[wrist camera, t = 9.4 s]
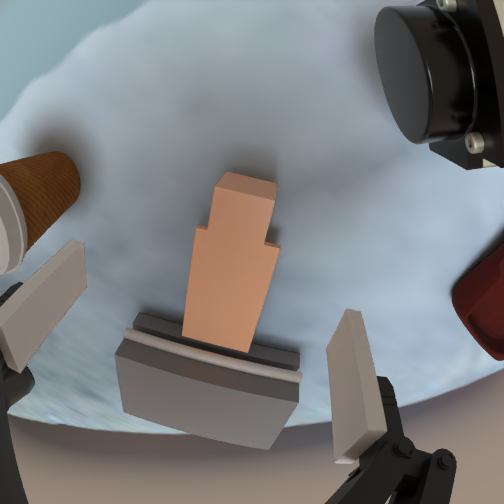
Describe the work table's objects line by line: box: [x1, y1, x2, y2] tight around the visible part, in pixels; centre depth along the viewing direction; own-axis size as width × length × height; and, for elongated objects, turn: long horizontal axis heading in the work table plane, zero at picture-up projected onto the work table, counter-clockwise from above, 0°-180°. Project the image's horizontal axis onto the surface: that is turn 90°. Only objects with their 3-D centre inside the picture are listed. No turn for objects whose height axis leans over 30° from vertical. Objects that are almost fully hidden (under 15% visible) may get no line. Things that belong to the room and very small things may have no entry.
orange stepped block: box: [182, 171, 281, 353], centre depth 27 cm, size 18×7×4 cm, turn 168°
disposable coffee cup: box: [0, 152, 80, 275], centre depth 23 cm, size 10×10×12 cm
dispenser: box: [115, 312, 302, 450], centre depth 35 cm, size 13×19×7 cm
